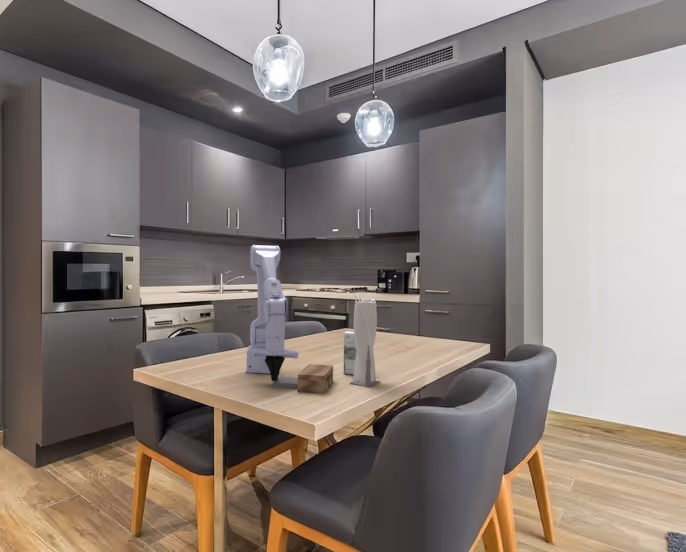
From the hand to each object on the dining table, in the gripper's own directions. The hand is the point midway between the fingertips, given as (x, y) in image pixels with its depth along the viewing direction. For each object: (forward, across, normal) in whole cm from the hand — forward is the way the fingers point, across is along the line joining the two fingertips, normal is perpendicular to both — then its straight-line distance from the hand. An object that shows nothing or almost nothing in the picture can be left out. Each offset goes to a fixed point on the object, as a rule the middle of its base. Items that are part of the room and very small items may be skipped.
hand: (274, 380), depth 126 cm
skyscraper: (+1, +27, +7) cm, 28 cm away
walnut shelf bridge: (+1, +13, 0) cm, 13 cm away
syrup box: (+1, +22, +18) cm, 29 cm away
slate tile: (+2, +7, 0) cm, 7 cm away
